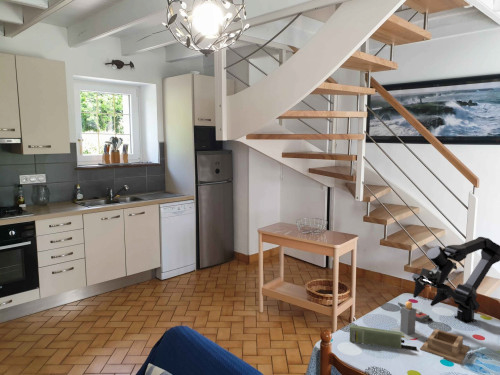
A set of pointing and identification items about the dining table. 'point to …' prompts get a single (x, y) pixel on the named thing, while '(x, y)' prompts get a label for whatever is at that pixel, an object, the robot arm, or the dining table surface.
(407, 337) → the mat
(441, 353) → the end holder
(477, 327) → the dining table surface
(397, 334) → the handheld radio
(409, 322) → the connector plug
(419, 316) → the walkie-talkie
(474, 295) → the robot arm
